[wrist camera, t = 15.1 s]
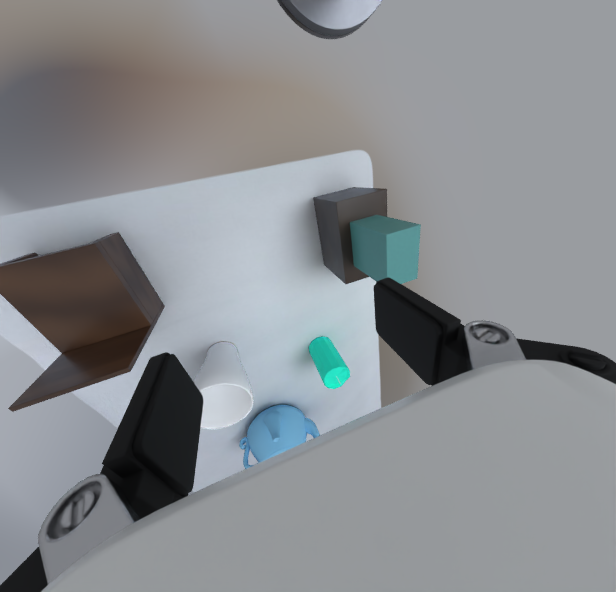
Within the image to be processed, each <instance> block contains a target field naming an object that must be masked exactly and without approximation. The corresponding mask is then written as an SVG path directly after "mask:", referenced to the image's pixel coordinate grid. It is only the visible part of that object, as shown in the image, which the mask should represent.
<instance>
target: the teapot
mask: <svg viewBox="0 0 616 592" xmlns="http://www.w3.org/2000/svg"><path fill="white" fill-rule="evenodd" d="M307 433H308V434H311V435H312V436H313V437H314V438H316V437H318V436H320V434H319V432H318V429H317V427H316V425H315V423H314V422H313V421H312V420H310V419H308V418H305V416H304V414H303V413H302V412H301V411H300V410H299V409H297V408H295V407H293V406H290V405H276V406H273V407H270V408H267V409H266V410H264V411H262V412H261V413H260V414H259V415H257V417H256V418H255V419H254V420H253V422H252V423H251V425H250V426H249V429H248V433H247V437H244V438H243V439H242V440H241V441H240V444H239V446H240V448H241V449H245V453H244V459H243V463H244V467H245V469H247V468H249V467H252V466H254V465H248V455H249V450H250V449H251V452H252V453H253V455H254V457H255V458H256V460H257V461H258V462H259V463H260V462H263V461H265V460H267V459H269V458H271V457H274V456H276V455H278V454H280V453H282V452H285V451H287V450H289V449H291V448H293V447H296V446H298V445H300V444H302V443H305V442H306V436H307ZM244 443H246V445H243V444H244ZM257 464H258V463H257ZM255 465H256V464H255Z"/></svg>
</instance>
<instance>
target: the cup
mask: <svg viewBox="0 0 616 592" xmlns="http://www.w3.org/2000/svg"><path fill="white" fill-rule="evenodd" d="M194 384H195V385H196V386H197V388H198V389H199V391H200V392H201V394H202V396H203V410H202V418H201V427H200V428H204V429H220V428H225V427H228V426H231V425H234V424H235V423H237V422H239V421H241V420H242V419H243V418H245V417H246V416H247V415H248V413H249V412H250V411H251V409H252V406H253V400H254V399H253V394H252V389H251V386H250V383H249V380H248V377H247V374H246V372H245V370H244V368H243V366H242V364H241V361H240V359H239V355H238V350H237V348H236V347H235V345H233V344H232V343H229V342H219V343H216V344H214V345H212V346H211V347H210V348H209V350H208V353H207V356H206V359H205V361H204V363H203V365H202V367H201V369H200V371H199V372H198V374H197V376H196V378H195V380H194Z"/></svg>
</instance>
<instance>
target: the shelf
mask: <svg viewBox="0 0 616 592" xmlns="http://www.w3.org/2000/svg"><path fill="white" fill-rule="evenodd" d="M0 294H1V295H2V296H3V297H4V298H5V299H6V300H7V301H8V302H9V303H10V304H11V305H13V306H14V307H15V308H16V309H17V310H18V311H19V312H20V313H21V314H22V315H23V316H24V317H25V318H26V319H27V320H28V321H29V322H30V323H31V324H32V325H33V326H34V327H35V328H36V329H37V330H38V331H39V332H40V333H42V334H43V335H44V336H45V337H46V338H47V339H48V340H49V341H50V342H51V343H52V344H53V345H54V346H55V347H56V348H57V349H58V350H59V351H60V352H61V353H62V354H61V355H60V356H59V357H58V358H57V359H56V360H55V361H54V362H53V363H52V364H51V365H50V366H49V367H48V368H47V369H46V370H45V372H44V373H43V374H42V375H41V376H40V377H39V378H38V379H37V380H36V381H35V382H34V383H33V384H32V385H31V386H30V387H29V388H28V389H27V390H26V391H25V392H24V393H23V394H22V395H21V396H20V397H19V398H18V399H17V400H16V401H15V402H14V403H13V404H12V405H11V406H10V407H9V409H10V410H11V411H16V410H19V409H22V408H24V407H28V406H31V405H33V404H36V403H39V402H42V401H45V400H48V399H51V398H54V397H57V396H60V395H63V394H66V393H69V392H72V391H74V390H77V389H80V388H83V387H86V386H89V385H92V384H95V383H98V382H101V381H104V380H107V379H110V378H113V377H115V376H118V375H121V374H124V373H127V372H130V371H131V370H132V368H133V366H134V364H135V362H136V360H137V358H138V356H139V354H140V353H141V351H142V349H143V347H144V345H145V343H146V341H147V339H148V337H149V336H150V334H151V332H152V330H153V328H154V326H155V324H156V322H157V320H158V318H159V317H160V315H161V313H162V311H163V309H164V307H165V306H164V304H163V303H162V301H161V300H160V298H159V296H158V295H157V293H156V292H155V290H154V288H153V287H152V285H151V284H150V282H149V280H148V279H147V277H146V276H145V274H144V272H143V271H142V269H141V268H140V266H139V264H138V263H137V261H136V259H135V258H134V256H133V255H132V253H131V251H130V250H129V248H128V247H127V245H126V243H125V242H124V240H123V239H122V237H121V235H120V234H119V233H114V234H110V235H108V236H106V237H103V238H101V239H99V240H96V241H94V242H92V243H90V244H86V245H82V246H78V247H74V248H70V249H65V250H61V251H57V252H53V253H49V254H45V255H41V256H38V255H37V254H36V253H31V254H27V255H24V256H21V257H18V258H16V259H13V260H10V261H7V262H4V263H2V264H0Z"/></svg>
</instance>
